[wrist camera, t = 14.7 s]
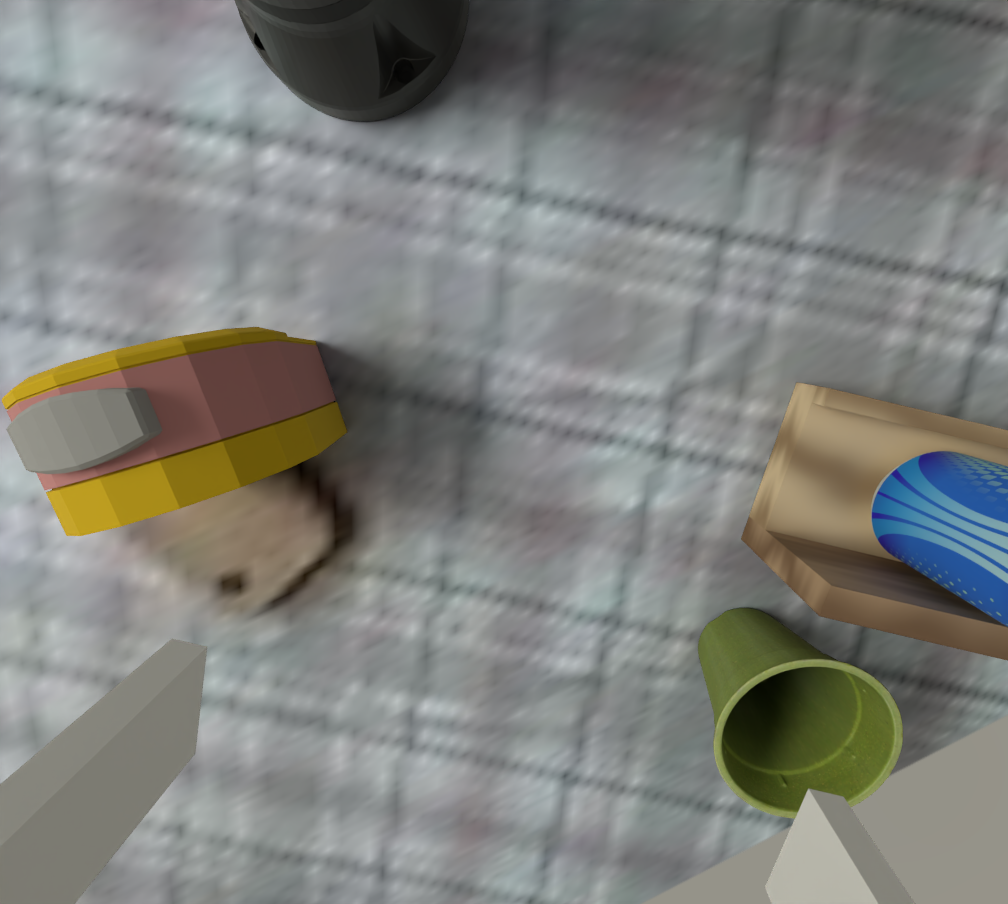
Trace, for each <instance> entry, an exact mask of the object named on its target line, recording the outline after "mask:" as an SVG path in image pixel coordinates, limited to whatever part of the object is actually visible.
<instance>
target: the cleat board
mask: <svg viewBox="0 0 1008 904" xmlns="http://www.w3.org/2000/svg"><path fill="white" fill-rule="evenodd" d="M936 451H951V452H957V453H962V454H965V455H969V456H972V457H976V458H980V459H983V460H987V461H990V462H994V463H998V464H1001V465H1005V466H1008V430H1004V429H1000V428H996V427H991V426H987V425H983V424H979V423H974V422H970V421H966V420H962V419H957V418H953V417H949V416H945V415H940V414H936V413H932V412H928V411H923V410H919V409H915V408H911V407H906V406H902V405H898V404H894V403H889V402H885V401H881V400H877V399H872V398H868V397H864V396H860V395H855V394H851V393H847V392H843V391H838V390H834V389H830V388H824V387H819V386H814V385H808V384H803V383H796V386H795V389H794V391H793V394H792V397H791V400H790V403H789V406H788V408H787V411H786V414H785V417H784V420H783V422H782V425H781V428H780V431H779V434H778V436H777V439H776V442H775V445H774V448H773V451H772V453H771V456H770V459H769V462H768V465H767V467H766V470H765V473H764V476H763V479H762V482H761V484H760V487H759V490H758V493H757V496H756V498H755V501H754V504H753V507H752V510H751V512H750V515H749V518H748V521H747V524H746V527H745V529H744V532H743V535H742V538H741V539H742V540H743V541H744V542H745V543H746V544H747V545H748V546H749V547H750V548H751V549H752V550H753V551H754V552H755V553H756V554H757V555H758V556H759V557H760V558H761V559H762V560H763V561H764V562H765V563H766V564H767V565H768V566H769V567H770V568H771V569H772V570H773V571H774V572H775V573H776V574H777V575H778V576H779V577H780V578H781V579H782V580H783V581H784V582H785V583H786V584H787V585H788V586H789V587H790V588H791V589H792V590H793V591H794V592H795V593H796V594H797V595H798V596H799V597H800V598H802V599H803V600H804V601H805V602H806V603H807V604H808V605H809V606H810V607H811V608H812V609H813V610H814V611H815V612H816V613H817V614H818V615H819V616H821V617H826V618H830V619H834V620H838V621H843V622H847V623H851V624H855V625H860V626H864V627H868V628H872V629H877V630H881V631H885V632H889V633H894V634H898V635H902V636H906V637H911V638H915V639H919V640H923V641H928V642H932V643H936V644H940V645H945V646H949V647H953V648H957V649H961V650H966V651H970V652H974V653H978V654H983V655H987V656H991V657H995V658H1000V659H1004V660H1008V627H1007V626H1006V625H1004V624H1002V623H1001V622H999V621H997V620H996V619H994V618H993V617H991V616H989V615H988V614H986V613H984V612H983V611H981V610H980V609H978V608H976V607H975V606H973V605H972V604H970V603H968V602H967V601H965V600H963V599H962V598H960V597H959V596H957V595H955V594H954V593H952V592H950V591H949V590H947V589H946V588H944V587H942V586H941V585H939V584H938V583H936V582H934V581H933V580H931V579H929V578H928V577H926V576H925V575H923V574H921V573H920V572H918V571H916V570H915V569H913V568H912V567H910V566H908V565H907V564H905V563H903V562H902V561H900V560H899V559H897V558H895V557H894V556H892V555H891V554H890V553H888V552H887V551H886V550H885V549H884V548H883V547H882V546H881V544H880V543H879V542H878V540H877V538H876V536H875V534H874V531H873V528H872V522H871V503H872V499H873V495H874V493H875V490H876V488H877V487H878V485H879V483H880V482H881V481H882V479H883V478H884V477H885V476H886V475H887V474H888V473H889V472H890V471H892V470H893V469H894V468H896V467H897V466H899V465H901V464H903V463H904V462H906V461H908V460H909V459H911V458H914V457H916V456H919V455H922V454H925V453H929V452H936Z"/></svg>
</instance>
